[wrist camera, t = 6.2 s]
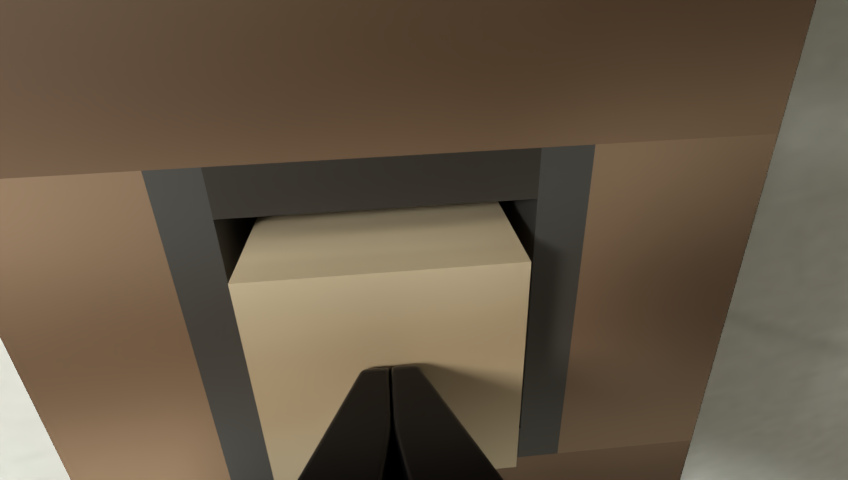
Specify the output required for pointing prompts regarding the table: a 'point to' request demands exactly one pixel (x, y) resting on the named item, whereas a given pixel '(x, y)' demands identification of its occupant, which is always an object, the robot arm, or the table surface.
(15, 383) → the table surface
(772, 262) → the table surface
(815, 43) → the table surface
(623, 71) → the band block
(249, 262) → the peg
